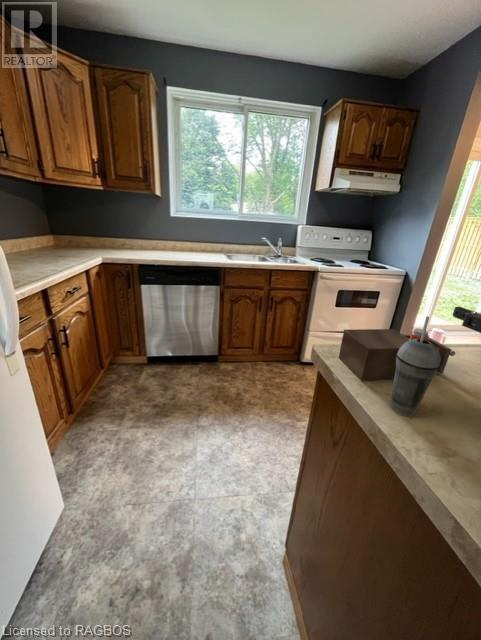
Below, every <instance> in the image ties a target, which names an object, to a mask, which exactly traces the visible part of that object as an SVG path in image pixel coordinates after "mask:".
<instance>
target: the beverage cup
mask: <svg viewBox="0 0 481 640" xmlns="http://www.w3.org/2000/svg"><path fill="white" fill-rule="evenodd" d="M429 320H430V316H428V315H427V316H425V320H424V324H423V328H422V329H423V332H422V336H421V339H414V340H410V341H408V342H406V343H404V344H403V345H402V346H401V348H400V349H399V351H398V353H397V354H396V357H397V358H396V371H395V377H394V379H393V383H392V388H391V389H392V390H391V395H390V404H389V407H390V409H391V411H393V412H394V413H396V414H397V415H400V416H403V417H407V418H408V417H409V418H410V417H413V416H415V415H416V412H417V411H418V409H419V408H420V405H421V402H422V400H423V399H424V396H425V394H426V392H427V390H428V388H429V386H430V383H431V381H432V379H433V378H434V377H435V376H436V374H437V373H438V372H437V370H438V369H439V368H440V361H441V357H440V353H439V351H438V349H437V348H436V347H435V346H434V345H433V344H432V343H430V342H428V341H426V340H424V336H425V332H426V331H427V329H428V328H427V327H428V325H429Z"/></svg>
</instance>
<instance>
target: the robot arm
mask: <svg viewBox="0 0 481 640" xmlns="http://www.w3.org/2000/svg"><path fill="white" fill-rule="evenodd" d="M452 317H453V318H456V319H458V320H461V321H462V324H461V326H462V327H465V328H467V329H470V330H472V331H475V332H476V333H480V334H481V312H478V311H474V310H471V309H469V308H466V307H462V306H455V307H454V309H453V312H452Z"/></svg>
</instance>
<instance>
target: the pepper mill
mask: <svg viewBox="0 0 481 640" xmlns="http://www.w3.org/2000/svg"><path fill="white" fill-rule="evenodd" d="M422 332H423V328H414V329H413V330H412V331H411V332H410V334H411V335H410V339H411V340H414V339H421V336H422ZM429 338H430V335H429V331H428V330H426V332H425V336H424V340H426V341H428V339H429Z"/></svg>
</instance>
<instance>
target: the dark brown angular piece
mask: <svg viewBox="0 0 481 640" xmlns="http://www.w3.org/2000/svg"><path fill="white" fill-rule="evenodd" d="M401 334H402V333H401ZM402 335H404V336H406V337H407V338H409V339H410V335H411V333H410V334H408V333H405V334H402ZM428 342H430V343H432V344H433V345H434V346H435V347H436V348H437V349H438V351H439V353H440V357H441V361H440V368H439V369H438V370H437V372H436V373H437V374H443V373H444V372H445V369H446V366H447V363H448V360H449V357H454V356H456V351H454V349H452V348H450V347H448V346H446V345H444V344H443V343H442V342H439V341H437V340H436V339H433V338H431V337H429V339H428Z"/></svg>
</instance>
